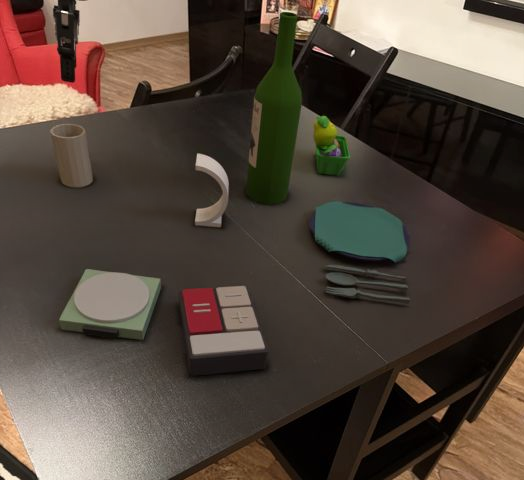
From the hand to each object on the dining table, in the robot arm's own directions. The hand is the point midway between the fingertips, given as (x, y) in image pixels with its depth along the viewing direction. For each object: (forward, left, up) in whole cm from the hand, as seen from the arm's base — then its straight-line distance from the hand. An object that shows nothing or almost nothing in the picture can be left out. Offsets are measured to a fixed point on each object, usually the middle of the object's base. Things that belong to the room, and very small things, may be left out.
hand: (69, 74), depth 84 cm
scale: (+16, -36, -20) cm, 44 cm away
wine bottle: (+37, +5, -20) cm, 42 cm away
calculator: (+33, -39, -20) cm, 55 cm away
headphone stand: (+27, -8, -20) cm, 35 cm away
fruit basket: (+50, +22, -20) cm, 58 cm away
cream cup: (-2, 0, -20) cm, 20 cm away
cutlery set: (+56, -12, -20) cm, 61 cm away
